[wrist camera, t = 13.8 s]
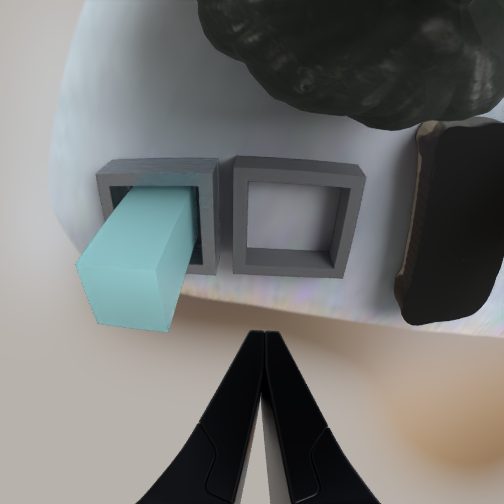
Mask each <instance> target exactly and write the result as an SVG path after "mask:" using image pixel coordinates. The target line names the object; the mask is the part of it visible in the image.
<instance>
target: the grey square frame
mask: <svg viewBox="0 0 504 504" xmlns="http://www.w3.org/2000/svg"><path fill="white" fill-rule="evenodd" d="M249 181H259V182H277V183H294V184H308V185H321V186H333V187H342V189H341V195H340V200H339V206H338V211H337V217H336V222H335V227H334V232H333V237H332V242H331V247H330V252H323V251H304V250H284V249H264V248H247V217H248V185H249ZM365 181H366V176H365V174H364V173H363V172H362V170H361V169H360V167H359V166H358V165H356V164H346V163H337V162H327V161H315V160H303V159H289V158H273V157H254V156H236V159H235V163H234V167H233V274H248V275H269V276H291V277H315V278H341V279H343V276H344V272H345V268H346V264H347V260H348V257H349V253H350V249H351V244H352V240H353V236H354V232H355V228H356V223H357V219H358V214H359V210H360V205H361V200H362V196H363V191H364V186H365Z"/></svg>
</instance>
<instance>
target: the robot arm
mask: <svg viewBox="0 0 504 504" xmlns="http://www.w3.org/2000/svg"><path fill="white" fill-rule="evenodd" d="M260 397H261V410H262V421H263V431H264V441H265V452H266V463H267V473H268V483H269V493H270V504H381V503H380V502H379V501H378V500H377V498H376V497H375V496H374V495H373V493H372V492H371V491H370V489H369V488H368V487H367V485H366V484H365V483H364V481H363V480H362V478H361V477H360V476H359V474H358V473H357V472H356V470H355V469H354V468H353V466H352V465H351V464H350V462H349V460H348V459H347V457H346V456H345V455H344V453H343V451H342V449H341V448H340V446H339V444H338V443H337V441H336V439H335V437H334V436H333V434H332V432H331V430H330V428H327V427H328V425H327V422H326V421H325V419H324V417H323V415H322V413H321V411H320V409H319V407H318V406H317V403H316V401H315V399H314V398H313V396H312V394H311V392H310V390H309V388H308V386H307V384H306V382H305V380H304V378H303V377H302V375H301V373H300V371H299V369H298V367H297V365H296V363H295V361H294V359H293V357H292V355H291V353H290V351H289V350H288V347H287V346H286V344H285V342H284V340H283V338H282V336H281V334H280V333H279V332H278V331H265V333H264V331H262V330H250V331H249V332H248V334H247V336H246V338H245V340H244V342H243V343H242V345H241V347H240V349H239V351H238V353H237V354H236V356H235V358H234V360H233V362H232V364H231V366H230V367H229V369H228V371H227V373H226V374H225V376H224V378H223V380H222V382H221V383H220V385H219V387H218V389H217V390H216V393H215V394H214V396H213V398H212V399H211V401H210V403H209V405H208V406H207V408H206V410H205V412H204V413H203V415H202V417H201V419H200V420H199V423H198V424H197V425H196V427H195V429H194V431H193V432H192V434H191V435H190V437H189V439H188V440H187V442H186V443H185V445H184V446H183V448H182V449H181V451H180V452H179V453H178V455H177V456H176V457H175V459H174V460H173V461H172V463H171V464H170V465H169V467H168V468H167V469H166V470H165V471H164V472H163V474H162V475H161V476H160V477H159V478H158V480H157V481H156V482H155V483H154V484H153V486H152V487H151V488H150V489H149V490H148V491H147V493H146V494H145V495H144V496H143V497H142V498H141V499H140V500H139V501H138V502H137V503H135V504H240V501H241V497H242V491H243V487H244V482H245V477H246V472H247V467H248V462H249V457H250V452H251V447H252V442H253V437H254V431H255V426H256V421H257V416H258V410H259V403H260Z"/></svg>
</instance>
